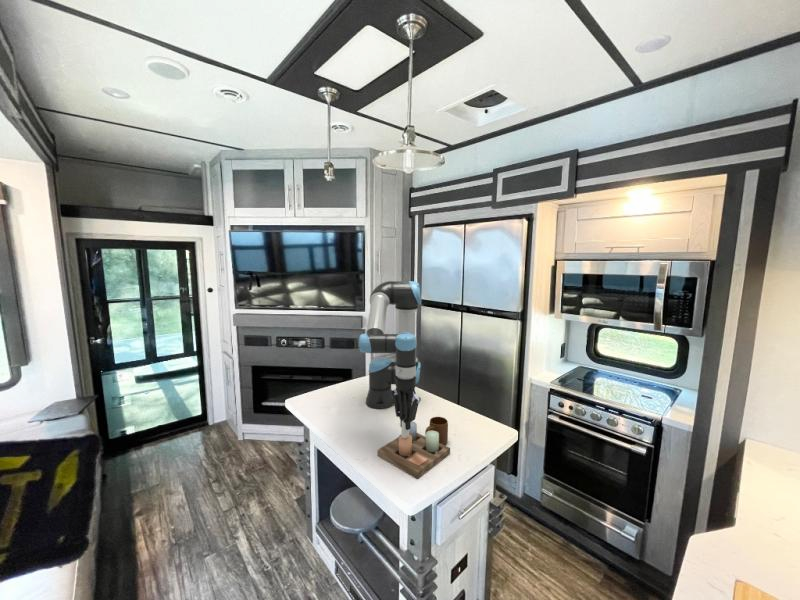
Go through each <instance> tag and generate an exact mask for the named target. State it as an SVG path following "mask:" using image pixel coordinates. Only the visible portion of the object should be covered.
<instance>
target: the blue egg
mask: <svg viewBox="0 0 800 600" xmlns="http://www.w3.org/2000/svg"><path fill="white" fill-rule="evenodd" d="M417 424H418V423H417V422H415V421H414V420H413V421H412V422H411V428H410V429H409V435H411V436H412V442H415V440H416V439H417V433H418V430H417V429H418V427H417V426H418V425H417Z"/></svg>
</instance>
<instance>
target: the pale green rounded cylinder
mask: <svg viewBox="0 0 800 600" xmlns="http://www.w3.org/2000/svg"><path fill="white" fill-rule="evenodd" d="M425 437H426V450H427V452H429V453H437V451H438V450H439V433H438V432H437V431H432V430H431V431H427V432H426V435H425Z"/></svg>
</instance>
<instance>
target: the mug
mask: <svg viewBox="0 0 800 600" xmlns="http://www.w3.org/2000/svg"><path fill="white" fill-rule="evenodd" d="M431 430H432V431H437V432H438V433H439V443H440V444H443V445H445V446H447V443H448V440H449V437H448V436H449V421H448V419H447V418H445V417H443V416H433V417H431V418H430V419H429V426H427V427H426V429H425V432H424V433H425V434H424V436H426V432H427V431H431Z"/></svg>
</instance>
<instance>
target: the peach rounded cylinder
mask: <svg viewBox="0 0 800 600" xmlns="http://www.w3.org/2000/svg"><path fill="white" fill-rule="evenodd" d="M398 437H399V454H400V455H399V456H401V457H410V456H411V454H412V443H413V441H412V436H411V435H409V436H408V437H406V438H405V439H404V438H402V434H400V435H399V436H398Z"/></svg>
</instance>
